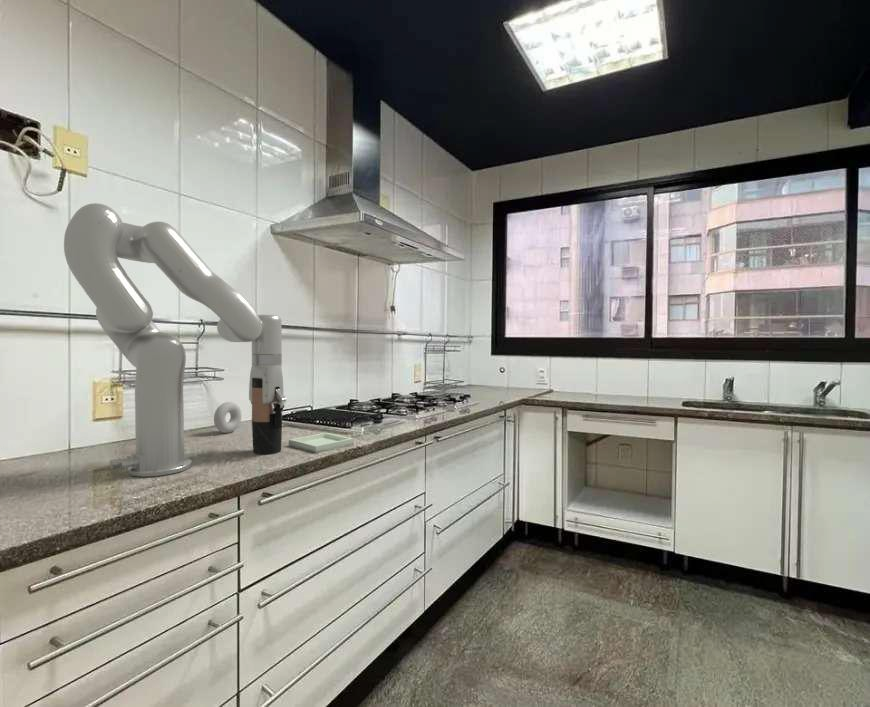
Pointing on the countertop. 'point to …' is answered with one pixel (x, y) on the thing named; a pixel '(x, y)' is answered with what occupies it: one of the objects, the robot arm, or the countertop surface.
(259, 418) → the travel mug
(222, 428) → the donut
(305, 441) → the tray
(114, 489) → the countertop surface
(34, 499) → the countertop surface
